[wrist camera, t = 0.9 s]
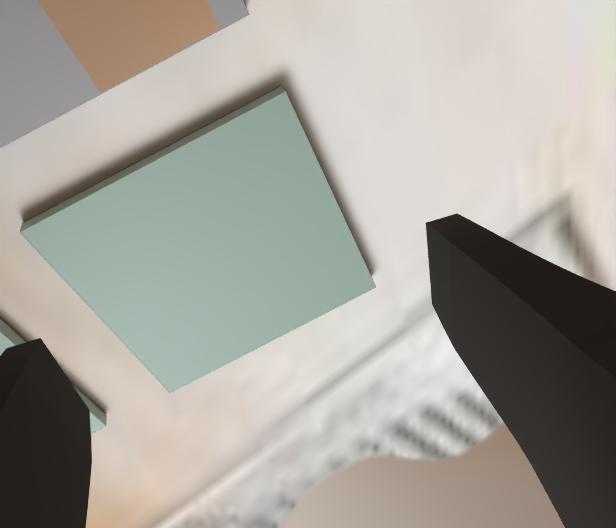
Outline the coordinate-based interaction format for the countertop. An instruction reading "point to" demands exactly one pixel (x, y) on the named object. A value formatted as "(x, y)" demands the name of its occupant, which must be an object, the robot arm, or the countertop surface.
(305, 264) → the pair of green tiles
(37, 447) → the robot arm
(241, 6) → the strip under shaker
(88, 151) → the countertop surface
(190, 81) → the countertop surface
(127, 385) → the countertop surface
